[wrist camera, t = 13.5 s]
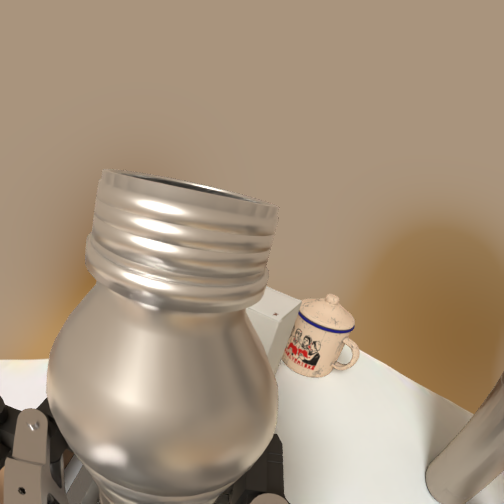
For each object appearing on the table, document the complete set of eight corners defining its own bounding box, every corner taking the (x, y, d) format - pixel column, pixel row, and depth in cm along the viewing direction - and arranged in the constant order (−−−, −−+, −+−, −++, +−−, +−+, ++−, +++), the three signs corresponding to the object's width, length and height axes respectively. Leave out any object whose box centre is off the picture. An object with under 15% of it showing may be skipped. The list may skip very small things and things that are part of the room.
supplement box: (273, 383, 33) (305, 301, 30) (245, 413, 27) (279, 322, 24) (227, 358, 36) (250, 277, 33) (194, 381, 30) (214, 289, 27)
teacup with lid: (267, 351, 40) (290, 284, 37) (304, 340, 46) (327, 281, 43) (323, 399, 31) (360, 327, 29) (356, 378, 37) (388, 315, 34)
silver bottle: (117, 472, 12) (112, 165, 8) (208, 494, 13) (308, 210, 9) (98, 538, 6) (-46, 160, 2) (205, 563, 7) (445, 271, 2)
